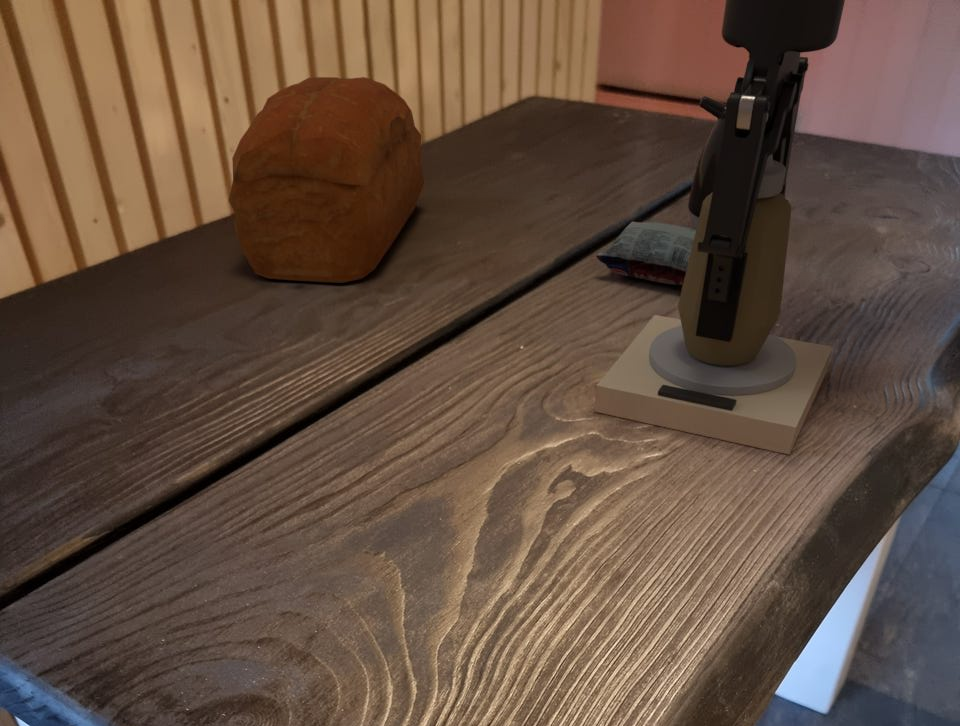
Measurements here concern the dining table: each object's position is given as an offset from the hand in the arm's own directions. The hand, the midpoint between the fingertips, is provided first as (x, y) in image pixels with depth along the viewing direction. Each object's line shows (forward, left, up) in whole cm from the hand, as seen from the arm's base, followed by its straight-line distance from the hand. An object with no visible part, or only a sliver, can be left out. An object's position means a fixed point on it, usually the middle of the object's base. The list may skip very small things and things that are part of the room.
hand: (728, 315), depth 75 cm
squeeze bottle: (0, 0, -3) cm, 3 cm away
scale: (0, +1, -6) cm, 6 cm away
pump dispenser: (+8, -34, -7) cm, 36 cm away
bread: (+49, -17, -7) cm, 52 cm away
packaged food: (+12, -22, -7) cm, 26 cm away
